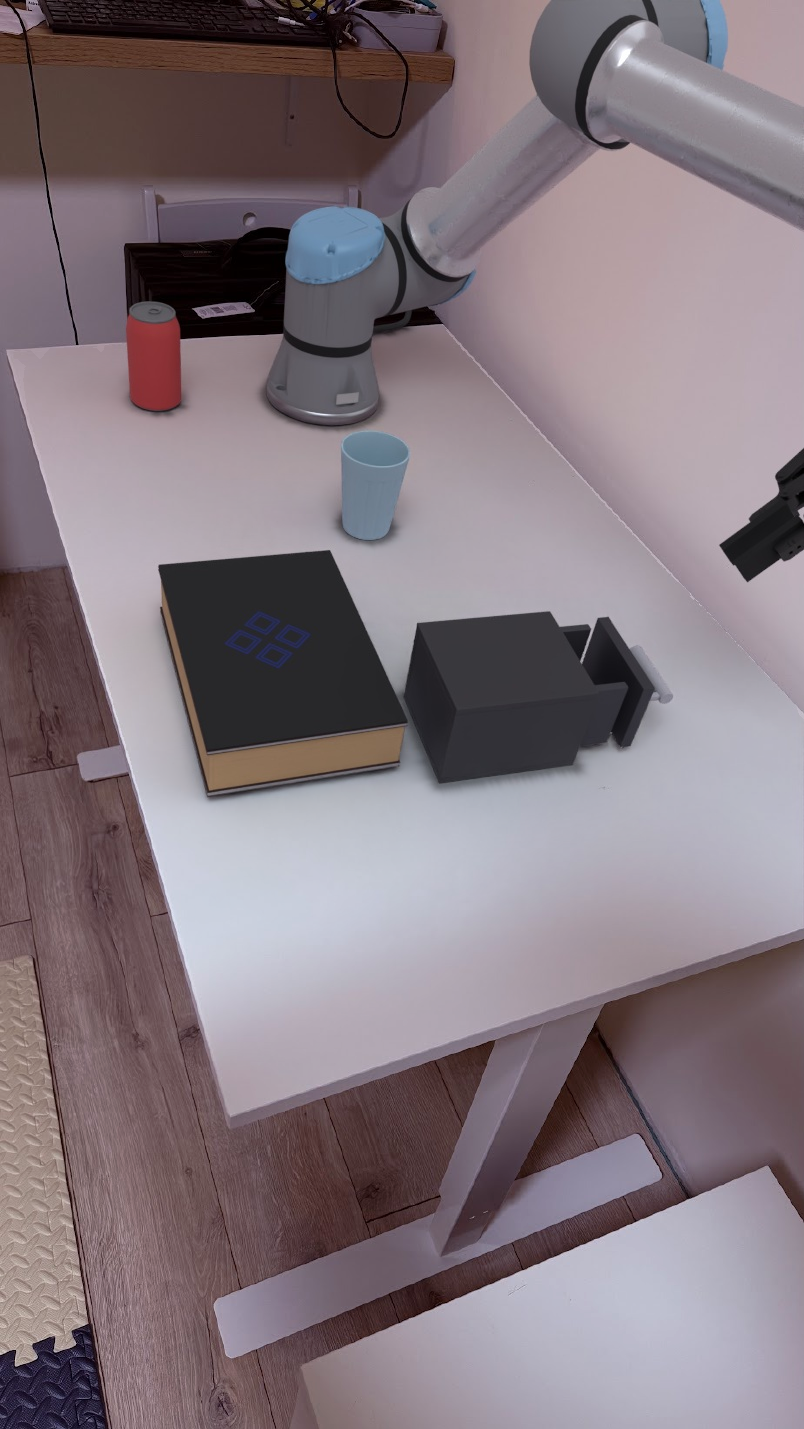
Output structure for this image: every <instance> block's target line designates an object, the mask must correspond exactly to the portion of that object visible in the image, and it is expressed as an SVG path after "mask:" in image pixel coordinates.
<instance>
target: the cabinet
mask: <svg viewBox="0 0 804 1429" xmlns="http://www.w3.org/2000/svg"><path fill="white" fill-rule="evenodd" d="M560 627H561V626H560V625H559V623H558V622H557V620H556V618H555V617H554V615H553V613H552V612H551V611H550V610H546V611H535V612H524V613H514V614H512V613H511V614H502V615H501V614H500V615H492V616H480V617H469V618H458V619H456V618H455V619H445V620H435V621H424V622H423V621H422V622H417V623H416V627H415V633H414V639H413V644H412V650H411V655H410V660H409V664H408V671H407V676H406V681H405V687H404V692H403V699H404V702H405V704H406V706H407V709H408V711H409V713H410V716H411V719H412V721H413V723H414V725H415V729H416V731H417V733H418V736H419V738H420V740H421V742H422V746H423V747H424V750H425V752H426V755H427V758H428V760H429V763H430V765H431V767H432V769H433V772H434V774H435V776H436V779H437V781H438V784H444V783H451V782H459V781H465V780H473V779H480V778H487V777H495V776H502V775H509V774H510V775H511V774H516V773H523V772H531V771H539V770H545V769H553V768H561V767H567V766H574V763H575V760H576V757H577V755H578V752H579V749H580V747H581V746H580V744H581V741H582V738H583V735H584V733H585V730H586V727H587V725H588V722H589V719H590V717H591V714H592V711H593V708H594V706H595V703H596V700H597V698H598V695H599V692H598V690H597V689H596V687H595V685H594V684H593V682H592V680H591V679H590V677H589V675H588V674H587V672H586V670H585V669H584V667H583V665H582V661H580V660H579V659H578V657H577V655H576V654H575V652H574V650H573V649H572V647H571V645H570V644H569V642H568V640H567V638H566V637H565V635H564V633H563V632H562V630H561V628H560Z"/></svg>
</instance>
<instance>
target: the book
mask: <svg viewBox="0 0 804 1429" xmlns="http://www.w3.org/2000/svg"><path fill="white" fill-rule="evenodd" d="M157 568H158V569H157V570H158V574H159V578H160V589H161V590H160V592H161V593H160V594H161V595H160V596H161V606H159V609H160V616H161V620H162V625H163V628H164V632H165V636H166V641H167V644H168V648H169V652H170V657H171V660H172V664H173V667H174V672H175V675H176V680H177V684H178V687H179V691H180V696H181V699H182V703H183V708H184V711H185V714H186V718H187V723H188V727H189V731H190V735H191V738H192V739H191V740H192V743H193V747H194V750H195V754H196V755H195V756H196V758H197V762H198V766H199V770H200V774H201V778H202V782H203V785H204V790H205V794H206V797H207V798H208V797H215V796H221V795H228V794H229V795H230V794H234V793H241V792H246V791H253V790H260V789H266V788H271V787H278V786H283V785H284V786H285V785H291V784H298V783H304V782H310V781H316V780H323V779H329V778H335V777H336V778H337V777H342V776H348V775H354V774H361V773H366V772H373V771H379V770H386V769H391V768H397V767H398V768H399V767H401V765H400V763H401V760H400V756H401V750H402V746H403V740H404V736H405V735H404V734H405V731H406V730H405V729H406V727H408V724H409V720H408V718H407V716H406V714H405V712H404V711H405V710H404V709H403V707H402V705H401V702H400V700H399V698H398V696H397V694H396V692H395V689H394V687H393V685H392V683H391V681H390V679H389V676H388V674H387V671H386V670H385V667H384V665H383V663H382V661H381V659H380V656H379V654H378V652H377V650H376V648H375V645H374V644H373V641H372V639H371V637H370V635H369V632H368V630H367V628H366V626H365V623H364V621H363V619H362V616H361V615H360V612H359V610H358V607H357V605H356V604H355V601H354V599H353V597H352V595H351V593H350V590H349V588H348V586H347V584H346V582H345V580H344V577H343V575H342V573H341V571H340V568H339V566H338V564H337V562H336V560H335V558H334V556H333V552H332V550H331V549H326V550H313V551H300V552H290V553H279V554H278V553H277V554H266V555H255V556H244V557H243V556H242V557H232V558H220V559H208V560H198V561H197V560H196V561H186V562H185V561H184V562H183V561H182V562H175V563H163V564H162V563H161V564H158V566H157Z"/></svg>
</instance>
